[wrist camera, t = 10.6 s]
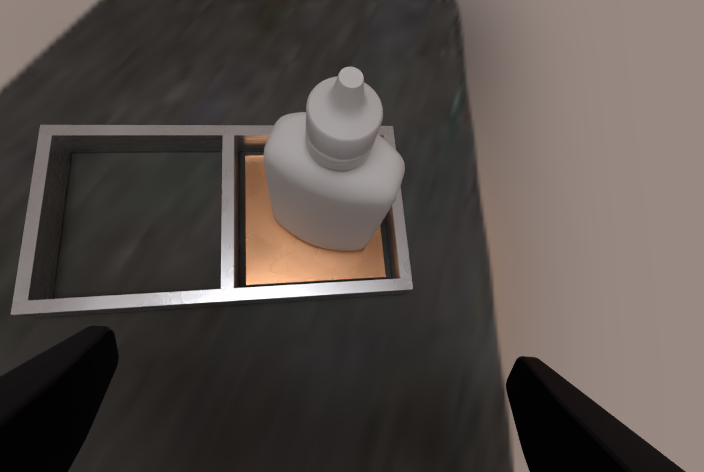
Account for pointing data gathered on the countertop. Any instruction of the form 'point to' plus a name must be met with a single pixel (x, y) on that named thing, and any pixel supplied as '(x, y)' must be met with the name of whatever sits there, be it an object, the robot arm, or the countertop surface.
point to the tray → (261, 228)
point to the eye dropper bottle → (333, 166)
